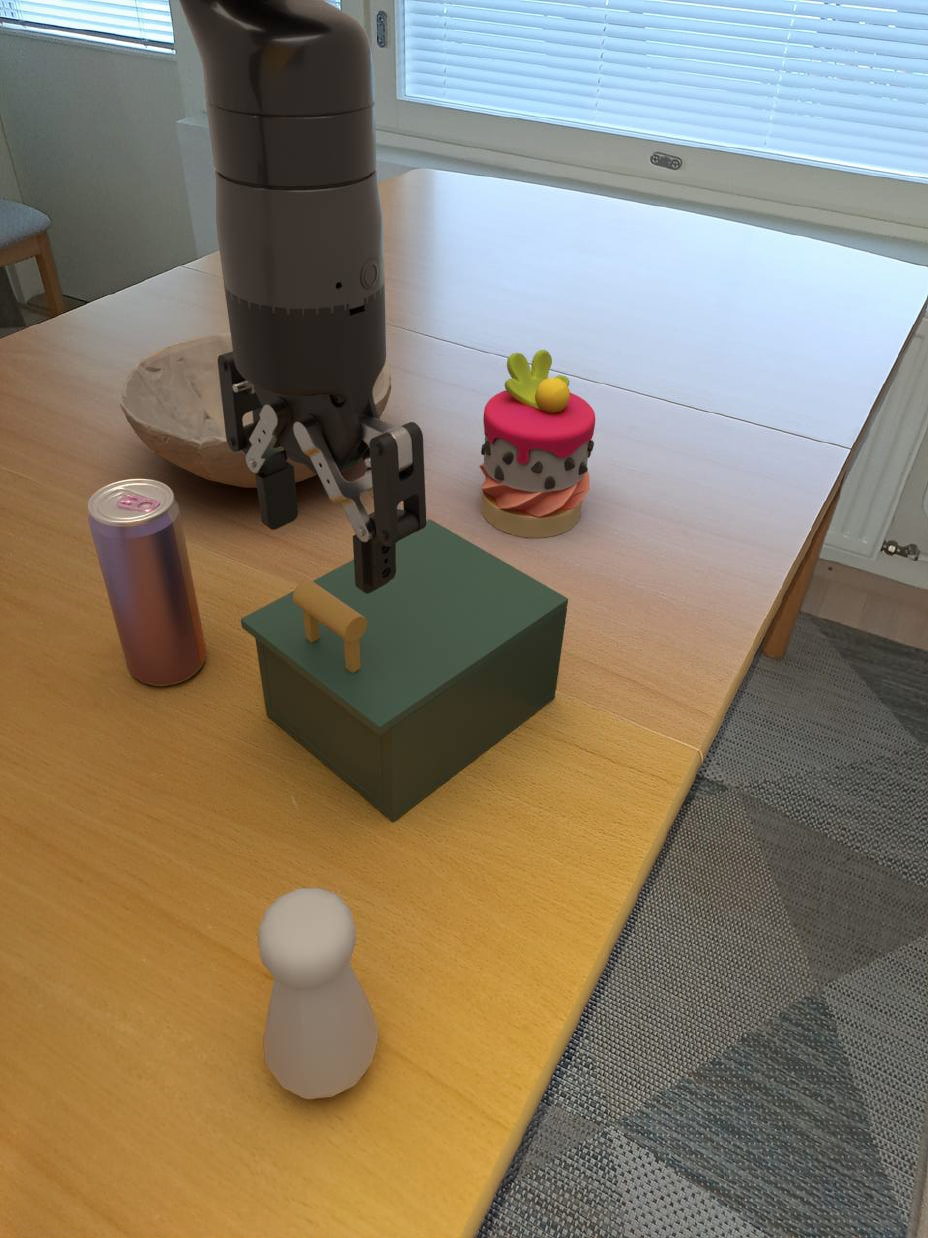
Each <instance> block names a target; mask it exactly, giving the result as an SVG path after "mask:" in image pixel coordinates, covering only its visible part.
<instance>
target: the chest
mask: <svg viewBox="0 0 928 1238" xmlns="http://www.w3.org/2000/svg"><path fill="white" fill-rule="evenodd" d="M567 612H568V607H567V608H565V609H564V610H562V611H561V612H559V613H558V614H556V615H555V616H554V617H552V618H551V619H549V620H548V621H546V622H545V623H543V624H542V625H540V626H539V627H538V628H536V629H535V630H533V631H532V632H530V633H529V634H527V635H526V636H524V637H523V638H522V639H520V640H519V641H517V642H516V643H514V644H513V645H511V646H510V647H508V648H507V649H505V650H504V651H503V652H501V653H500V654H498V655H497V656H495V657H494V658H492V659H491V660H489V661H488V662H487V663H485V664H484V665H482V666H481V667H479V668H478V669H476V670H475V671H473V672H472V673H471V674H469V675H468V676H466V677H465V678H463V679H462V680H460V681H459V682H457V683H456V684H455V685H453V686H452V687H450V688H449V689H447V690H446V691H444V692H443V693H441V694H440V695H439V696H437V697H436V698H434V699H433V700H431V701H430V702H428V703H427V704H425V705H424V706H422V707H421V708H420V709H418V710H417V711H415V712H414V713H412V714H411V715H409V716H408V717H406V718H405V719H404V720H402V721H401V722H399V723H398V724H396V725H395V726H393V727H392V728H390V729H389V730H388V731H386V732H385V733H383V734H382V735H378V734H377V733H376V732H374V731H373V730H372V729H371V728H369V727H368V726H367V725H365V724H364V723H363V722H362V721H360V720H359V719H358V718H356V717H355V716H354V715H353V714H351V713H350V712H349V711H348V710H346V709H345V708H344V707H342V706H341V705H340V704H339V703H337V702H336V701H335V700H334V699H332V698H331V697H330V696H328V695H327V694H326V693H325V692H323V691H322V690H321V689H319V688H318V687H317V686H316V685H314V684H313V683H312V682H311V681H309V680H308V679H307V678H305V677H304V676H303V675H302V674H300V673H299V672H298V671H297V670H295V669H294V668H293V667H291V666H290V665H289V664H288V663H286V662H285V661H284V660H282V659H281V658H280V657H279V656H277V655H276V654H275V653H274V652H272V651H271V650H270V649H268V648H267V647H266V646H265V645H263V644H262V643H261V642H260V641H258V640H257V639H256V638H254V639H255V647H256V652H257V659H258V667H259V674H260V681H261V687H262V693H263V702H264V707H265V715H266V716H267V717H268V718H269V719H271V720H272V721H273V722H274V723H275V724H276V725H278V726H279V727H280V728H281V729H282V730H283V731H284V732H286V733H287V734H288V735H289V736H291V737H292V738H293V739H294V740H295V741H296V742H298V743H299V744H300V745H301V746H302V747H303V748H305V749H306V750H307V751H308V752H309V753H311V754H312V755H313V756H314V757H315V758H316V759H318V760H319V761H320V763H322V764H324V765H325V766H326V767H327V768H328V769H329V770H331V771H332V772H333V774H335V775H337V776H338V777H339V778H340V779H341V780H342V781H343V782H345V783H346V784H347V785H348V786H349V787H351V788H352V789H353V790H354V791H355V792H357V793H358V794H359V795H360V796H361V797H362V798H364V799H365V801H367V802H368V803H370V804H371V805H372V806H373V807H374V808H376V809H377V810H378V811H379V812H380V813H381V814H382V815H384V816H385V817H386V818H387V819H388V820H389V821H390V822H392V823H395V822H396V821H397V820H398V819H400V818H401V817H402V816H404V815H405V814H406V813H407V812H409V811H410V810H411V809H413V808H414V807H416V806H417V805H418V804H420V802H422V801H423V800H424V799H426V798H427V797H428V796H430V795H431V794H432V793H433V792H435V791H436V790H437V789H439V788H440V787H442V786H443V785H444V784H445V783H447V782H448V781H449V780H451V778H453V777H454V776H456V775H457V774H458V773H460V772H461V771H462V770H463V769H464V768H466V767H468V766H469V765H470V764H471V763H473V762H474V761H475V760H476V759H478V758H479V757H480V756H482V755H483V754H485V753H486V752H487V751H488V750H489V749H491V748H492V747H493V746H495V745H496V744H497V743H499V742H500V741H501V740H503V739H504V738H505V737H507V736H508V735H510V733H512V732H513V731H514V730H516V729H517V728H518V727H519V726H521V725H522V724H524V722H526V721H527V720H529V719H530V718H531V717H532V716H534V715H535V714H536V713H538V712H539V711H540V710H542V709H543V708H544V707H546V706H547V705H548V704H550V703H551V702H552V701H553V700H554V699H555V698H556V691H557V686H558V678H559V672H560V665H561V657H562V650H563V641H564V636H565V635H564V634H565V629H566V620H567Z"/></svg>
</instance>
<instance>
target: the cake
mask: <svg viewBox="0 0 928 1238" xmlns="http://www.w3.org/2000/svg"><path fill="white" fill-rule="evenodd" d="M552 363H553V358H552V355H551V354H550V352H549V351H547V350H546V349H540V350H538V351H537V352H535V354H534V355H533V357H532V359H531V365H530V363H529V361H528V359H527V358H526V357H525V355H524V354H523V353H521V352H514V353H512V354H510V355H509V356H508V358H507V361H506V369H507V371H508V374H509V376H510V378H508V379H507V380H506V381H505V382H504V388H505V390H502V391H500V392H498V393H496V394H494V396H492V397H490V399H489V400H487V403H486V404H485V407H484V410H483V417H482V420H483V432H484V433H483V434H484V443H483V444H482V445H481V450H480V453H481V456H483V463H482V464H481V463H480V464H479V469H480V470H481V471H482V474H483V476H484V477H485V480H484V481H483V483H482V485H481V487H480V490H481V514H482V515H483V517H484V519H485V520H486V522H487V523H489V524H490V525H491V526H493V527H494V528H495V529H497V530H499V531H502V532H504V533H506V534H508V535H512V536H517V537H521V538H531V539H532V538H533V539H535V538H536V539H537V538H538V539H540V538H541V539H542V538H549V537H555V536H559V535H561V534H564V533H566V532H568V531H570V530H571V529H572V528H574V527H575V526H576V525H577V524H578V521H579V519H580V516H581V512H582V504H583V500H584V498H585V497H586V495H587V494H588V493H589V490H590V474H589V468H588V461H589V460H588V459H589V458H590V457H591V455H592V452H593V450H594V446H595V441H594V440H593V437H594V434H595V426H596V414H595V411H594V408H593V407H592V406H591V405H590V404H589V402H587V401H586V400H585V399H584V398H582V397H581V396H579V395H577V394H575V393H572V392H571V391H570V388H569V385H570V379H569V378H568V377H567V376H566V375H562V374H561V375H560V374H559V375H556V376H554V377H549V373H550V370H551V367H552ZM530 366H531V367H530Z"/></svg>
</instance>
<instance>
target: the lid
mask: <svg viewBox="0 0 928 1238" xmlns="http://www.w3.org/2000/svg"><path fill="white" fill-rule="evenodd" d="M395 559H396V564H395V565H396V574H395V577H394V579H392V580H390V581H389V582H388V583H387V584H385V585H383V586H382V587H380V588H378V589H376V590H375V591H373V592H371V593H369V594H366V593H364V592H363V591H361V590H360V589H358V588H357V587H356V586H355V571H354V559H352V560H350V561H347V562H345V563H344V564H342V565H340V566H338V567H336V568H335V569H333V570H331V571H329V572H327V573H325V574H323V575H321V576H319V577H318V578H316V579H313V580H311V579H306V580H303V581H302V582H300V583H299V584H298V585H297V586H295V589H294V590H293V591H291V592H289V593H287V594H285V595H283V596H282V597H279V598H277V599H276V600H273V601H272V602H270V603H268V604H266V605H265V606H262V607H260V608H259V609H257V610H254V611H253V612H251V613H249V614H247V615H245V616H243V617H241V619H240V625H241V629H243V630H244V631H245V632H247V633H248V634H249V635H251V636H252V637H253V638H254V639H255V638H256V639H257V640H258V641H260V642H261V643H262V644H263V645H265V646H266V647H267V648H268V649H270V650H271V651H272V652H274V653H275V654H276V655H277V656H279V657H280V658H281V659H282V660H284V661H285V662H286V663H288V664H289V665H290V666H291V667H293V668H294V669H295V670H297V671H298V672H299V673H300V674H302V675H303V676H304V677H305V678H307V679H308V680H309V681H311V682H312V683H313V684H314V685H316V686H317V687H318V688H319V689H321V690H322V691H323V692H325V693H326V694H327V695H328V696H330V697H331V698H332V699H334V700H335V701H336V702H337V703H339V704H340V705H341V706H342V707H344V708H345V709H346V710H348V711H349V712H350V713H351V714H353V715H354V716H355V717H356V718H358V719H359V720H360V721H362V722H363V723H364V724H365V725H367V726H368V727H369V728H371V729H372V730H373V731H374V732H376V733H377V734H378V735H382V734H383V733H385V732H386V731H388V730H389V729H390V728H392V727H393V726H395V725H396V724H398V723H399V722H401V721H402V720H404V719H405V718H406V717H408V716H409V715H411V714H412V713H414V712H415V711H417V710H418V709H420V708H421V707H422V706H424V705H425V704H427V703H428V702H430V701H431V700H433V699H434V698H436V697H437V696H439V695H440V694H441V693H443V692H444V691H446V690H447V689H449V688H450V687H452V686H453V685H455V684H456V683H457V682H459V681H460V680H462V679H463V678H465V677H466V676H468V675H469V674H471V673H472V672H473V671H475V670H476V669H478V668H479V667H481V666H482V665H484V664H485V663H487V662H488V661H489V660H491V659H492V658H494V657H495V656H497V655H498V654H500V653H501V652H503V651H504V650H505V649H507V648H508V647H510V646H511V645H513V644H514V643H516V642H517V641H519V640H520V639H522V638H523V637H524V636H526V635H527V634H529V633H530V632H532V631H533V630H535V629H536V628H538V627H539V626H540V625H542V624H543V623H545V622H546V621H548V620H549V619H551V618H552V617H554V616H555V615H556V614H558V613H559V612H561V611H562V610H564V609H565V608H567V609H568V605H569V598H568V597H567V596H565V595H563V594H561V593H560V592H558V591H556V590H554V589H552V588H550V587H549V586H547V585H546V584H544V583H542V582H540V581H539V580H537V579H535V578H534V577H532V576H530V575H529V574H527V573H525V572H523V571H522V570H519V569H518V568H516V567H515V566H513V565H511V564H509V563H507V562H505V561H504V560H502V559H500V558H499V557H497V556H495V555H494V554H492V553H490V552H489V551H486V550H485V549H483V548H481V547H479V546H478V545H476V544H474V543H473V542H471V541H469V540H467V539H466V538H464V537H462V536H461V535H459V534H457V533H455V532H454V531H452V530H450V529H448V528H447V527H445V526H443V525H441V524H440V523H438V522H436V521H434V520H433V519H431V518H430V519H427V520H426V527H425V528H423V529H421V530H420V531H418V532H415V533H413V534H411V535H409V536H407V537H405V538H403V539H401V540H399V541H398V542H397V543H396V558H395Z"/></svg>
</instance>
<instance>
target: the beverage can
mask: <svg viewBox="0 0 928 1238" xmlns="http://www.w3.org/2000/svg"><path fill="white" fill-rule="evenodd" d="M87 510H88V511H87V512H88V518H87V522H88V527H89V530H90V533H91V538H92V541H93V544H94V548H95V552H96V556H97V559H98V563H99V567H100V571H101V574H102V578H103V579H102V580H103V582H104V586H105V589H106V593H107V597H108V600H109V605H110V609H111V612H112V616H113V620H114V623H115V627H116V631H117V635H118V638H119V643H120V646H121V649H122V653H123V657H124V661H125V664H126V668H127V671H128V673H130V674H131V675H132V676H133V677H134V678H136V679H137V680H138V681H140V683H141V682H142V683H144V684H146V685H149V686H152V687H153V686H154V687H169V686H174V685H178V684H181V683H183V682H186V681H187V680H190V678H192V677H193V676H195V675H196V674H197V673H198V672H199V670H200V669H201V668H202V666H203V664H204V662H205V660H206V657H207V647H206V642H205V636H204V630H203V626H202V622H201V615H200V610H199V605H198V599H197V594H196V589H195V583H194V579H193V572H192V568H191V562H190V558H189V552H188V547H187V541H186V535H185V530H184V525H183V520H182V515H181V510H180V506H179V503H178V502H177V500H176V499H175V494H174V492H173V490H172V488H171V487H170V486H168V485H167V484H165V483H164V482H161V481H158V480H156V479H151V478H150V479H149V478H129V479H123V480H118V481H115V482H111V483H109V484H107V485H105V486H102V487H101V488H99V489H97V490H96V491H95V492H93V494H92V495H91V496H90V497H89V500H88V502H87Z"/></svg>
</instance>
